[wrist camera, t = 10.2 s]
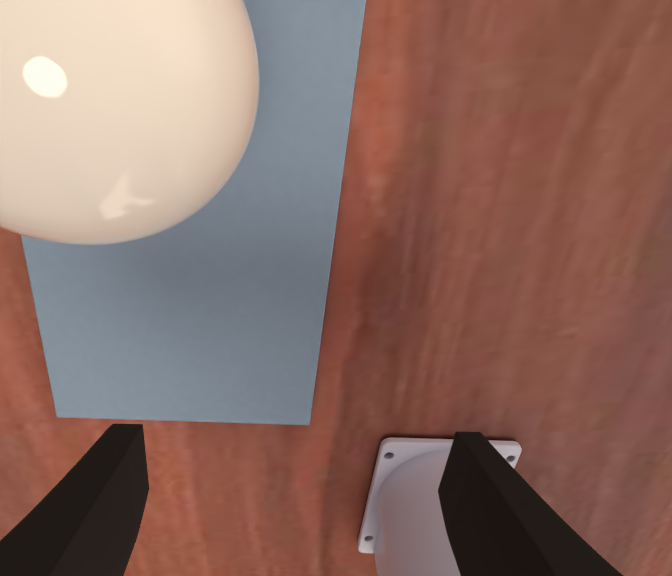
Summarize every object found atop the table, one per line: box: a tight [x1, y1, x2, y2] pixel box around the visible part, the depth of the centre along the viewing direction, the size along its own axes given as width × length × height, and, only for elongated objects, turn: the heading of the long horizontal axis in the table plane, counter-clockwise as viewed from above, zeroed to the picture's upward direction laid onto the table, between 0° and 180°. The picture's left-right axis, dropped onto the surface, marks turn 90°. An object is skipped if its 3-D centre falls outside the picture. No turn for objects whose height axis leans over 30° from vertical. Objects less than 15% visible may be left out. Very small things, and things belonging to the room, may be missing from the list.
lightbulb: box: [0, 0, 259, 245], centre depth 10 cm, size 6×6×11 cm
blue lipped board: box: [21, 0, 366, 425], centre depth 18 cm, size 20×12×1 cm, turn 173°
